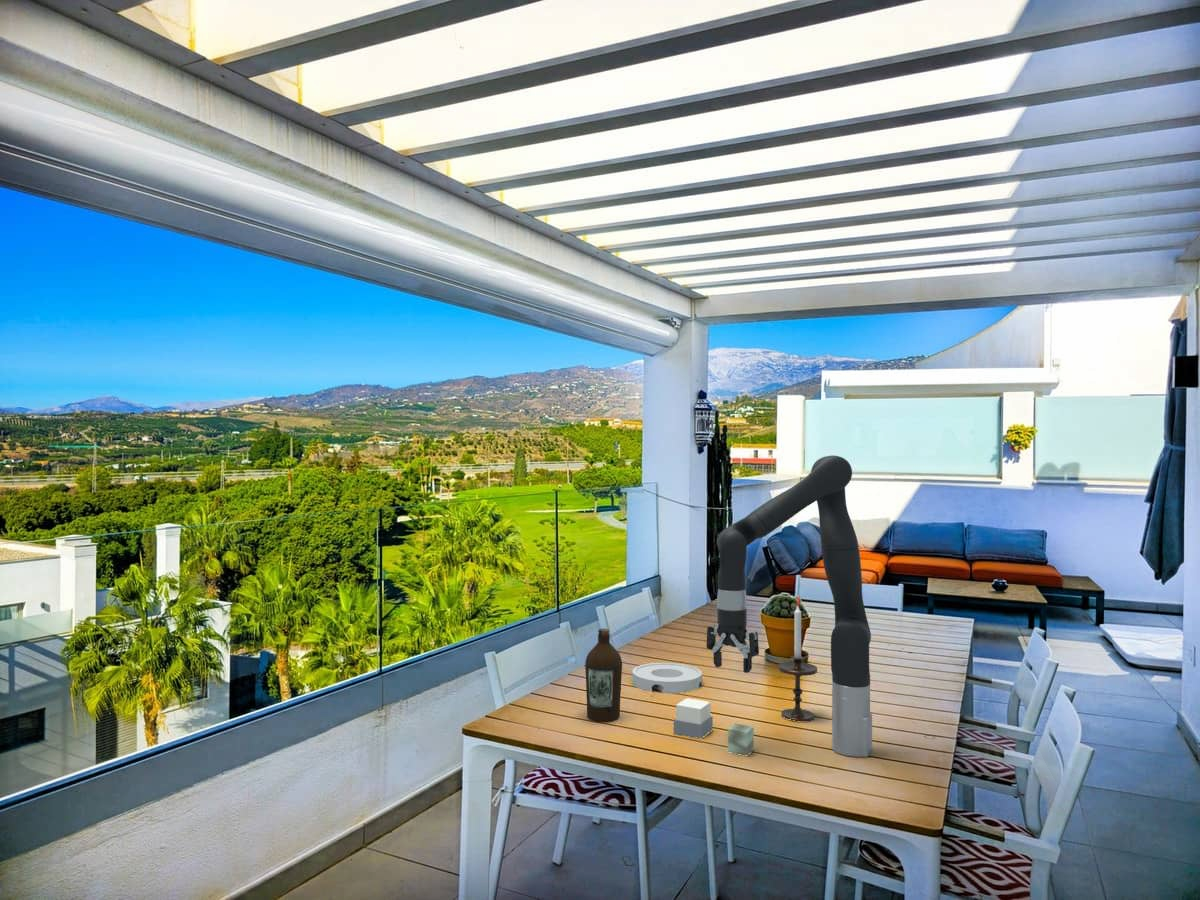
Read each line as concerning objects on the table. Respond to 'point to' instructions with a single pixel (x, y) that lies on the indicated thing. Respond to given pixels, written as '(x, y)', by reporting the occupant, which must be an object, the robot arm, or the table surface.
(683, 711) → the cream top block
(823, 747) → the table surface
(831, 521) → the robot arm
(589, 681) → the olive oil
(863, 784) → the table surface
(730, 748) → the sage block
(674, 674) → the ashtray
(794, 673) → the candlestick
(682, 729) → the slate base block
